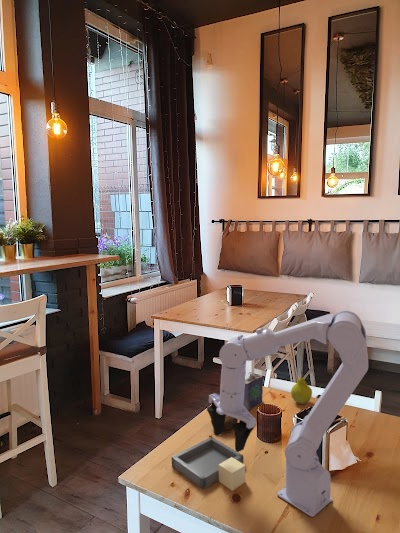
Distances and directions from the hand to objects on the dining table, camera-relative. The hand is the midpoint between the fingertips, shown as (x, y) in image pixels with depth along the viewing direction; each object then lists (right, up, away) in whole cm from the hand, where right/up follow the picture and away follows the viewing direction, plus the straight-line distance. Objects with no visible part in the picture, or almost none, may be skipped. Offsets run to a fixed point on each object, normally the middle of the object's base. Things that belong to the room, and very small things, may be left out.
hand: (228, 441), depth 97 cm
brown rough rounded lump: (0, -7, +25) cm, 26 cm away
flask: (+11, -5, +39) cm, 40 cm away
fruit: (+28, -4, +40) cm, 49 cm away
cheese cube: (+1, -10, 0) cm, 10 cm away
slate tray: (-5, -9, +7) cm, 12 cm away
